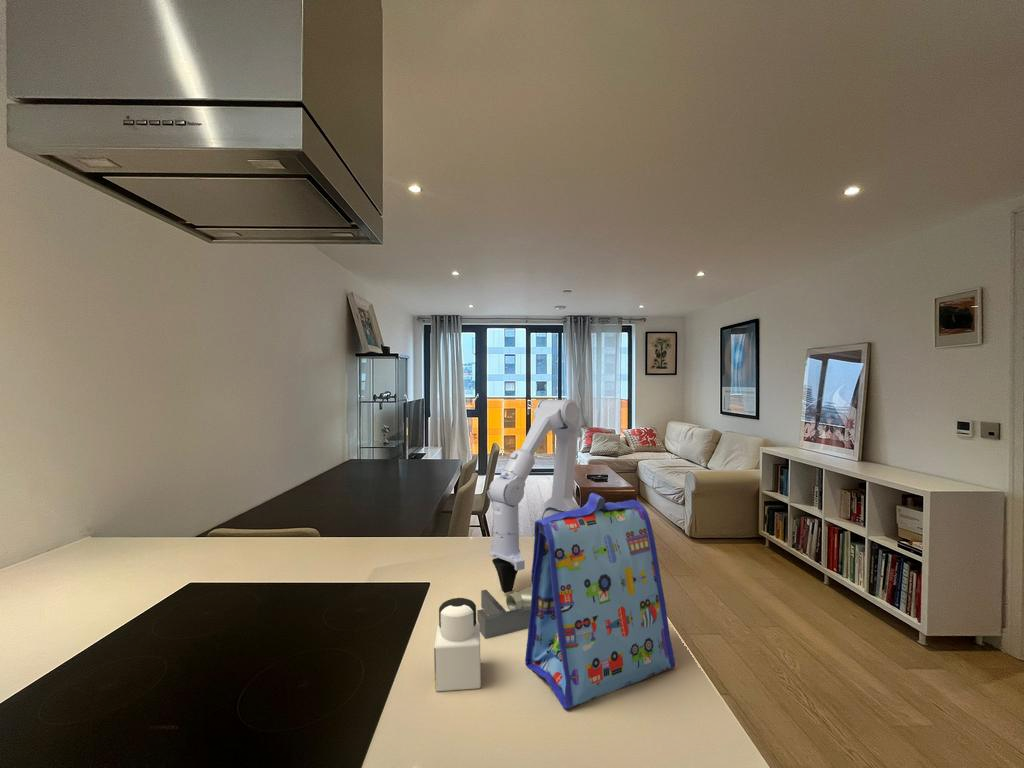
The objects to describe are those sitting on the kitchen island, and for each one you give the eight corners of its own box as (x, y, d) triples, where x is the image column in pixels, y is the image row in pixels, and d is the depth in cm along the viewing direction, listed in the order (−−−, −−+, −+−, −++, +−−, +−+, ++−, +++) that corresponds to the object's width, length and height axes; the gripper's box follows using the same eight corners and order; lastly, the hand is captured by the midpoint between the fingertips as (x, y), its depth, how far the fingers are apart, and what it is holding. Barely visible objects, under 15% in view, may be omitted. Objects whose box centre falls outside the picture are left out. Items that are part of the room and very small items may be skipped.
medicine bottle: (438, 665, 78) (437, 594, 79) (480, 662, 79) (479, 592, 79) (434, 692, 71) (433, 614, 71) (480, 689, 72) (479, 612, 72)
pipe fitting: (554, 610, 98) (533, 597, 104) (555, 592, 98) (534, 580, 103) (526, 623, 93) (505, 608, 98) (527, 604, 93) (506, 590, 98)
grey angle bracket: (555, 590, 107) (554, 575, 107) (584, 613, 95) (583, 596, 96) (464, 610, 98) (464, 594, 98) (485, 638, 86) (484, 620, 86)
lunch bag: (622, 633, 88) (620, 481, 88) (678, 671, 76) (674, 495, 76) (522, 665, 78) (520, 495, 78) (568, 715, 66) (564, 513, 66)
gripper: (478, 525, 110) (479, 582, 109) (502, 543, 96) (503, 608, 96) (505, 521, 113) (506, 576, 112) (532, 538, 99) (533, 601, 99)
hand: (507, 591), depth 105 cm, fingers closed
